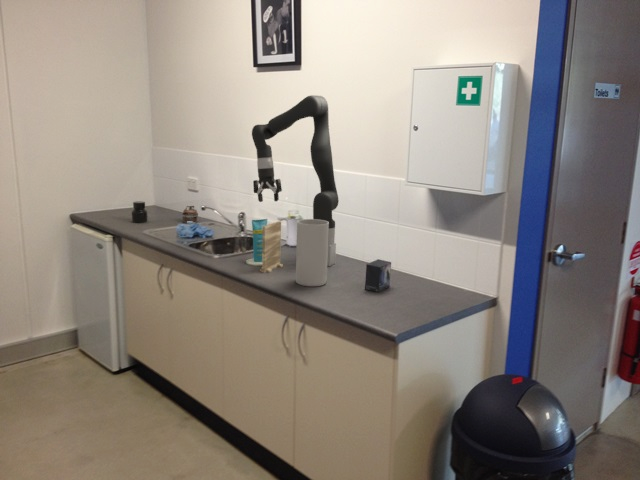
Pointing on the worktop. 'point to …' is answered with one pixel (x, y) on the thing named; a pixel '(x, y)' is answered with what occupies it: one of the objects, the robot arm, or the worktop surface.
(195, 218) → the rusty gas canister
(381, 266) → the small box
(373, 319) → the worktop surface
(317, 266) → the cylinder vase
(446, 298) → the worktop surface
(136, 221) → the ink bottle
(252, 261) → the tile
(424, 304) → the worktop surface
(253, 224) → the tube
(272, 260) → the screen
